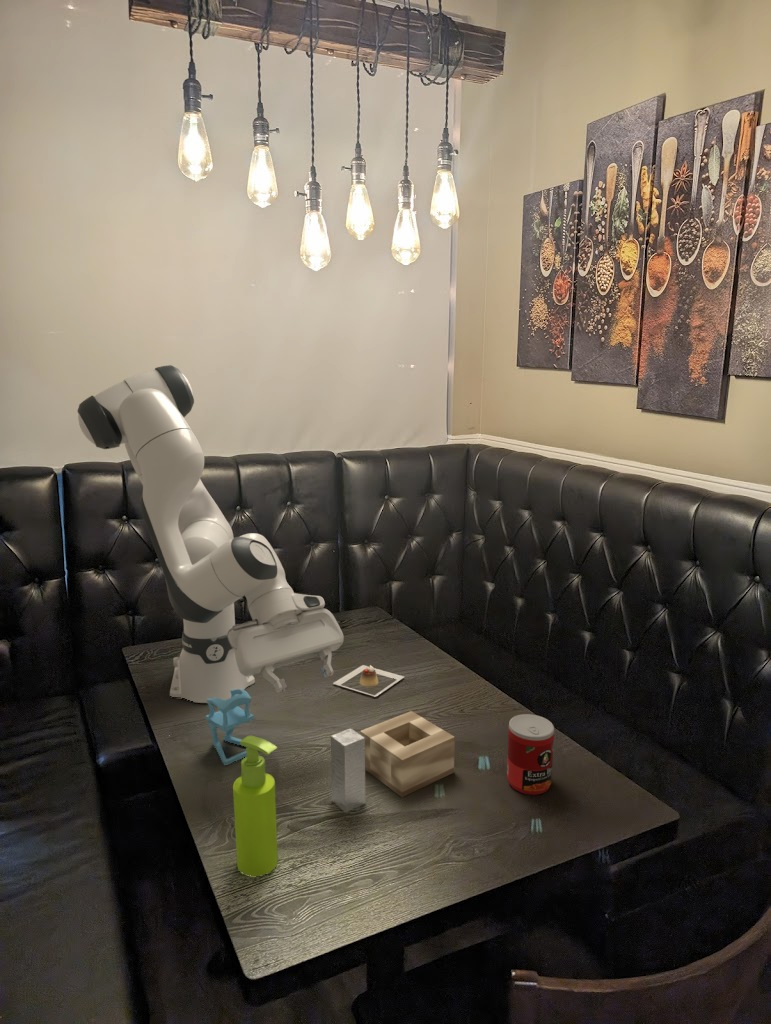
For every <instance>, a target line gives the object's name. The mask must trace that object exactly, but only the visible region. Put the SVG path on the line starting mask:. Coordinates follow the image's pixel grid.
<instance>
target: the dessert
mask: <svg viewBox="0 0 771 1024" xmlns="http://www.w3.org/2000/svg"><path fill="white" fill-rule="evenodd" d="M360 673H361V675H360V678H359V682H358V683H359V685H360V686H362V687H366V688H368V687H369V688H370V687H371V688H372V687H375V686H377V685H379V683H380V681H379V679H378V675H379V676H383V677H387V678H391V679H393V678H394V680H395V681H393V682H392V683H390V684H389V685H387V686H386V687H384V688H383V689H382V690H380V691H379V692H377V693H375V694H372V693H368V692H365V691H361V690H358V689H355V688H351V687H349V686H346V685H342V684H344V683H346V682H347V681H349V680H351V679H352V678H354V677H356V676H357V675H359V674H360ZM404 678H405V676H404V675H401V674H400V675H399V674H397V673H393V672H389V671H386V670H382V669H379V668H375V667H373V666H372V665H371V664H370V665H369V666H368V665H364V664H362V665H360V666H359V667H357V668H355V669H353V670H352V671H350V672H349V673H347V674H346V675H344V676H342V677H340V678H339V679H337V680H336V681H334V682H333V683H332V684H333V685H335V686H338V687H341V688H345V689H348V690H351V691H355V692H358V693H360V694H363V695H367V696H370V697H373V698H377V697H378V696H379V695H381V694H383V693H384V692H386V691H387V690H388V689H390V688H391V687H393V686H394V685H395V684H397V683H398V682H399V681H401V680H403V679H404Z"/></svg>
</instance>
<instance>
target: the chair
mask: <svg viewBox="0 0 771 1024" xmlns="http://www.w3.org/2000/svg"><path fill="white" fill-rule="evenodd" d="M230 691H231V698H229V699H227V700H222V699H220V698H218V697H216V698H212V699H210V698H207V702H208V703H207V705H208V708H209V714H207V715H205V721H207V723H208V726H209V729H210V733H211V737H212V738H211V739H212V746H213V745H214V746H215V747H214V746H213V747H214V749H215V748H216V749H215V750H217V751H216V752H218V753H217V755H218V754H219V755H218V756H220V757H219V759H220V758H221V759H220V761H221V760H222V761H221V763H222V762H223V763H224V764H225V765H228V764H230V763H232V762H234V761H236V762H238V761H237V760H239V759H241V760H243V759H244V757H247V754H246V750H245V751H242V752H239V753H238V754H235V755H232V756H230V757H229V758H227V757H226V754H225V752H224V749H223V747H222V744H221V743H220V742H221V741H219V740H220V739H219V736H218V731H217V730H218V729H219V730H221V731H222V732H223V733H224V736H223V741H224V740H225V741H224V742H226V741H228V742H231V743H234V744H233V745H235V744H237V745H236V746H239V745H240V741H241V740H242V739H241V738H238V737H234V736H232V734H233V731H234V730H235V727H238V726H241V725H243V724H246V723H250V722H251V721H254V719H255V718H254V717H255V715H254V714H252V713H250V710H249V708H250V705H251V701H252V697H251V696H250V694H249V693H248V692H247V691H246V689H244V690H243V689H237V690H233V689H231V690H230ZM236 694H239V695H236ZM213 705H214V706H215V707H216V708H217V709H218V711H216V712H215V708H214V706H213ZM242 705H245V706H244V708H241V707H240V706H242ZM228 742H227V743H228ZM231 743H230V744H231ZM241 747H243V745H241ZM244 748H246V746H244ZM242 758H243V759H242ZM239 761H240V760H239ZM223 763H222V764H223ZM234 763H235V762H234ZM224 764H223V765H224ZM232 764H233V763H232ZM225 765H224V766H225ZM230 765H231V764H230ZM228 766H229V765H228Z"/></svg>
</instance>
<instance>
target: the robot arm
mask: <svg viewBox="0 0 771 1024" xmlns="http://www.w3.org/2000/svg"><path fill="white" fill-rule="evenodd" d="M194 404H195V399H194V391H193V386H192V385H191V383H190V381H189V379H188V378H187V377H186V376H185V374H184V373H182V372H181V370H180V369H179V368H177V367H175V366H174V365H172V364H171V365H170V364H168V365H162V366H157V367H155V368H154V369H153V370H149V371H146V372H142V373H139V374H136V375H133V376H131V377H127V378H125V379H123V380H122V381H121V382H120V381H119V383H115V384H114V385H112V386H110V387H108V388H106V389H104V390H102V391H101V392H99V393H97V394H96V395H90V396H88V397H87V398H86V399H84V400H83V401H82V402H80V403H79V404H78V409H77V413H78V417H77V419H78V423H79V424H78V425H79V427H80V430H81V432H82V434H83V435H84V436H85V438H86V439H87V440H88V441H89V442H90V443H92V444H93V445H95V446H96V448H99V449H102V450H109V449H115V448H119V447H120V445H123V444H124V447H125V449H126V453H127V455H128V458H129V460H130V462H131V465H132V467H133V469H134V471H135V473H136V476H137V477H138V479H139V481H140V482H141V485H142V492H141V494H140V495H141V496H140V497H139V505H140V508H141V509H140V510H141V512H142V515H143V516H142V517H143V519H144V523H145V525H146V528H147V530H148V534H149V536H150V537H149V538H150V539H151V541H152V545H153V548H154V550H155V553H156V556H157V559H158V562H159V564H160V569H161V570H162V573H163V576H164V580H165V584H166V589H167V590H166V591H167V595H168V599H169V602H170V605H171V607H172V609H173V611H174V612H175V613H176V615H177V616H179V617H180V618H181V619H182V621H183V631H182V633H181V634H182V635H181V642H182V648H181V652H180V655H179V656H176V657H173V659H172V661H173V667H174V671H173V674H172V680H171V684H170V689H169V697H170V696H172V697H181V698H180V699H182V698H185V699H187V700H186V701H188V700H190V701H189V702H191V701H193V702H192V703H200V704H208V702H207V698H210V699H212V698H216V697H218V698H220V699H222V700H227V699H229V698H231V691H230V690H231V689H233V690H237V689H243V690H246V688H248V687H249V686H252V685H254V683H256V679H255V677H254V675H257V674H260V673H261V675H262V677H263V679H265V680H266V681H267V682H269V683H270V684H271V685H272V686H273V688H274V690H275V692H276V694H278V693H281V692H282V693H283V692H285V691H286V690H287V689H288V686H287V683H286V680H285V678H281V679H280V678H279V677H278V676H277V675H276V674H275V673H274V671H275V669H277V668H280V667H281V668H282V667H284V666H287V665H291V664H294V663H297V662H301V661H304V660H305V661H306V660H308V659H311V658H315V657H318V656H319V658H320V660H321V661H323V666H322V668H320V669H319V672H320V673H321V674H322V675H321V676H322V677H323V679H325V678H329V677H332V676H333V675H334V672H335V671H334V669H333V667H332V656H333V654H332V652H334V651H335V652H336V651H337V650H338V649H340V648H341V646H342V645H343V643H344V639H345V636H344V633H343V631H342V629H341V627H340V625H339V623H338V621H337V619H336V617H335V616H334V614H333V613H332V612H331V611H330V610H328V609H327V608H324V607H325V605H326V603H325V601H326V600H324V598H323V597H322V596H321V595H310V594H309V595H308V594H300V593H296V592H294V590H293V588H292V587H291V586H290V585H289V583H288V582H287V579H286V578H287V577H286V572H285V568H284V567H283V565H282V562H281V561H280V559H279V557H278V555H277V553H276V552H275V550H274V548H273V546H272V545H271V543H270V542H269V541H268V539H267V538H266V537H265V536H264V535H263V534H260V533H256V532H255V533H254V532H253V533H252V532H250V533H245V534H242V535H240V536H236V537H234V533H233V530H232V529H233V528H232V527H231V525H230V523H229V521H228V520H227V519H226V516H224V514H223V512H222V511H221V509H220V508H219V505H218V504H217V503H216V502H215V500H214V498H212V496H211V494H210V493H209V491H208V489H207V488H206V487H205V484H204V483H203V482H202V480H201V477H202V475H203V472H204V468H205V455H204V451H203V448H202V446H201V444H200V441H199V440H198V438H197V437H196V435H195V433H194V432H193V430H192V428H191V427H190V425H189V424H188V421H187V420H186V419H185V417H187V415H188V414H189V413H190V412H191V411H192V408H193V407H194ZM243 597H245V598H246V601H247V603H246V604H247V609H248V610H247V611H248V612H249V614H250V615H249V616H250V618H251V619H252V620H249V621H245V622H243V623H237V624H236V619H235V617H236V616H235V615H236V614H235V602H237V601H239V600H240V599H241V598H243ZM236 695H239V694H236ZM172 697H171V698H172ZM185 699H184V700H185Z"/></svg>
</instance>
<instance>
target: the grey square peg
mask: <svg viewBox="0 0 771 1024" xmlns="http://www.w3.org/2000/svg"><path fill="white" fill-rule="evenodd" d="M330 763H331V764H330V766H331V770H330V771H331V801H332V802H333V803H334V804H335V805H336V806H337V807H338V808H339V809H341V810H342V811H343V812H344V813H348V812H350V811H352V810H355V809H356V808H359V807H360V806H363V805H365V804H366V770H365V738H364V737H363V736H361V735H360V733H358V731H356V730H354V729H353V728H352V727H350V728H348V729H345V730H342V731H339V732H337V733H335V734H332V735H330Z"/></svg>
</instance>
